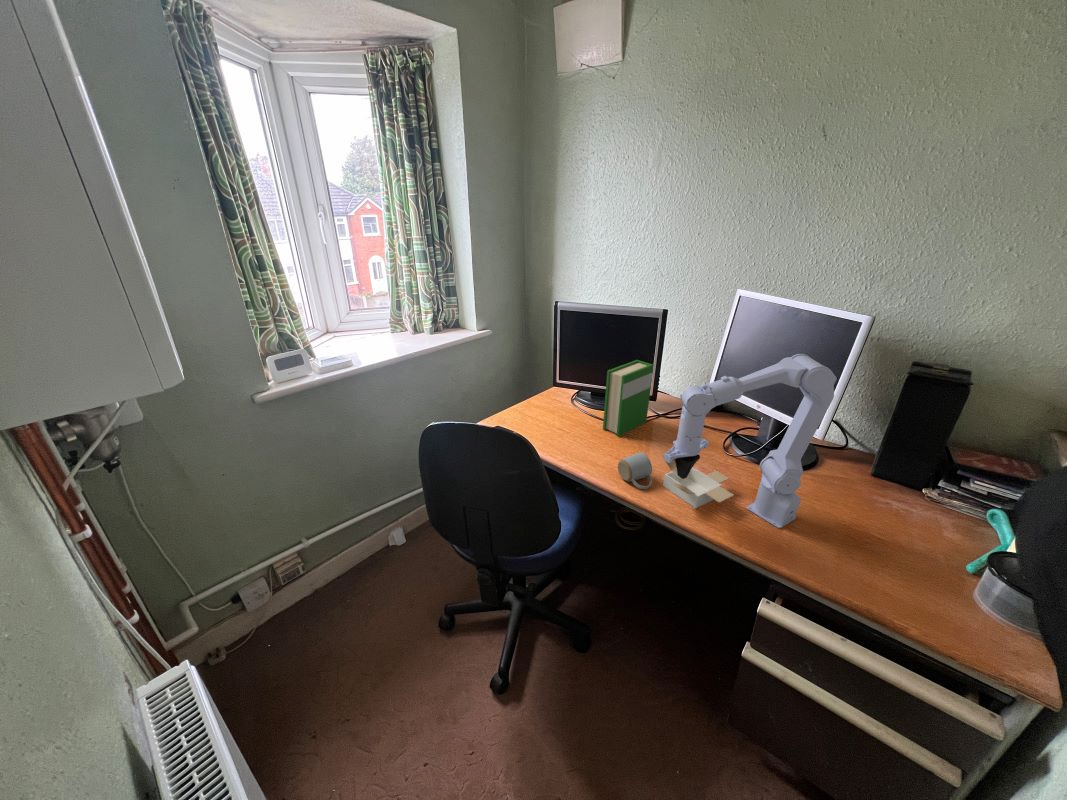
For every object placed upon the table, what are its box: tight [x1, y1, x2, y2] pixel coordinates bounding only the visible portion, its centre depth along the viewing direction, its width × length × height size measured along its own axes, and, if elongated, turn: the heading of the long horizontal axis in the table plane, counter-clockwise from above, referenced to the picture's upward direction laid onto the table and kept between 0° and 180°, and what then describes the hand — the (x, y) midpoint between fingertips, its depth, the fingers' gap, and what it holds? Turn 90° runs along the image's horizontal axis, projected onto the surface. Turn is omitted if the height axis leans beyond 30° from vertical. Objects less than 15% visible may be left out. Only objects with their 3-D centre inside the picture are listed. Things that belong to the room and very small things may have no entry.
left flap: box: [673, 483, 695, 494], centre depth 111 cm, size 4×4×1 cm
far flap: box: [661, 455, 677, 471], centre depth 123 cm, size 5×6×1 cm
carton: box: [662, 466, 734, 510], centre depth 117 cm, size 16×15×4 cm
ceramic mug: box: [617, 451, 653, 490], centre depth 122 cm, size 11×8×8 cm
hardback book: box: [602, 359, 655, 438], centre depth 150 cm, size 18×7×24 cm, turn 131°
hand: (681, 476), depth 108 cm, fingers closed
